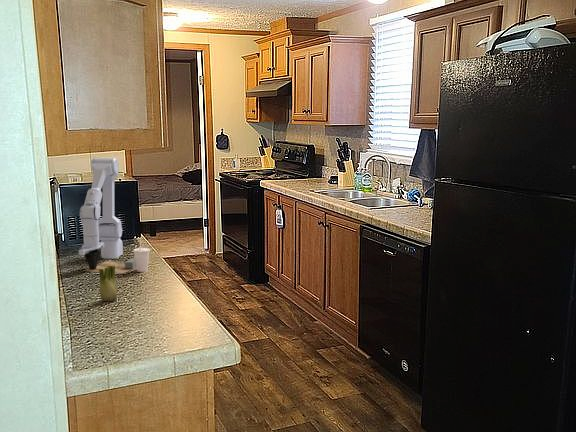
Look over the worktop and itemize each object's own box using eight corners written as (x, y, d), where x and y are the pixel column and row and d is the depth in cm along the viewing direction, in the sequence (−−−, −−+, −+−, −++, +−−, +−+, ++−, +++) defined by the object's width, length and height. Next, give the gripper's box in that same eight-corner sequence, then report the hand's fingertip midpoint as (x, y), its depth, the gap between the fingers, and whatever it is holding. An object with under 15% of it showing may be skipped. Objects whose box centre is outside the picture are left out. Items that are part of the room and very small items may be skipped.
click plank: (103, 275, 210) (103, 272, 210) (85, 273, 212) (85, 270, 212) (125, 265, 226) (124, 262, 225) (107, 263, 227) (107, 260, 227)
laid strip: (125, 265, 226) (125, 262, 225) (143, 266, 224) (143, 263, 224) (104, 275, 210) (104, 272, 210) (123, 277, 208) (123, 273, 208)
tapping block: (131, 264, 223) (131, 258, 222) (138, 264, 223) (138, 258, 222) (125, 268, 216) (125, 262, 216) (132, 268, 216) (132, 262, 215)
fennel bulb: (100, 303, 178) (99, 268, 176) (99, 299, 182) (97, 264, 180) (119, 301, 180) (117, 266, 178) (116, 297, 185) (115, 263, 183)
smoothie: (130, 274, 212) (129, 239, 210) (140, 270, 218) (139, 236, 215) (144, 276, 210) (142, 241, 207) (154, 272, 215) (153, 237, 213)
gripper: (92, 231, 220) (94, 263, 222) (70, 238, 206) (72, 272, 208) (108, 232, 218) (109, 264, 220) (87, 239, 204) (89, 274, 207)
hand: (92, 268), depth 214 cm, fingers closed
